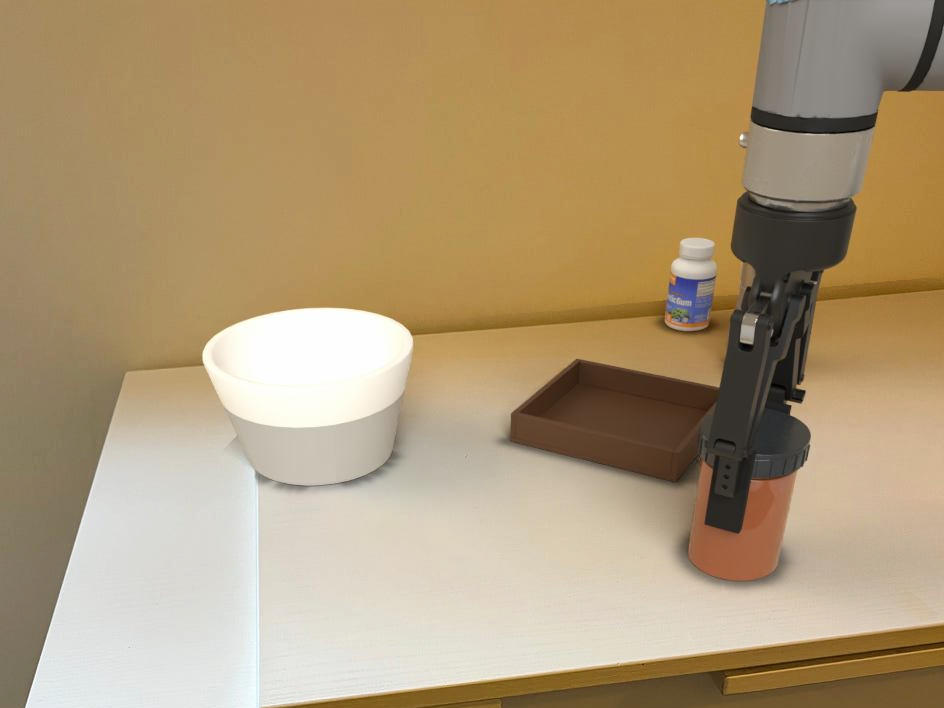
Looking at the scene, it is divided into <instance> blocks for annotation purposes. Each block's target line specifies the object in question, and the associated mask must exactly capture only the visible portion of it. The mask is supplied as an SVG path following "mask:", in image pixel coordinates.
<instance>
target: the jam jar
mask: <svg viewBox="0 0 944 708" xmlns="http://www.w3.org/2000/svg"><path fill="white" fill-rule="evenodd" d="M700 458H701V457H700ZM798 471H799V469H798V470H797V471H795V472H793V473H790V474H788V475H784V476H779V477H772V478H751V483H750V488H749V494H748V499H747V504H746V510H745V515H744V520H743V526H742V530H741V531H740V533H739V534H737V533H734V532H730V531H726V530H723V529H719V528H715V527H712V526H708V525H704V522H705V516H706V510H707V503H708V497H709V491H710V485H711V478H712V472H713V467H712V466H710V465H709V464H707V463H706V462H705V461H704V460H703V459H702V458H701V459H700V464H699V473H698V479H697V485H696V486H697V487H696V491H695V492H696V493H695V500H694V508H693V514H692V521H691V527H690V534H689V541H688V549H687V556H688V558H689V560H690V562H691V563H692V564H693V565H694V566H695V568H697V569H698V570H700V571H702V573H705V574H707V575H709V576H711V577H715V578H717V579H721V580H726V581H734V582H746V581H747V582H748V581H754V580H760V579H762V578H765V577H767V576H768V575H770V574H772V573H773V572H774V571H775V570H776V568H777V567H778V564H779V559H780V555H781V550H782V545H783V540H784V536H785V531H786V526H787V522H788V518H789V513H790V507H791V504H792V503H791V502H792V498H793V494H794V489H795V484H796V481H797V480H796V479H797V476H798V475H797V474H798Z"/></svg>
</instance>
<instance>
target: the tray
mask: <svg viewBox="0 0 944 708" xmlns="http://www.w3.org/2000/svg"><path fill="white" fill-rule="evenodd" d="M719 387H720V386H715V385H710V384H705V383H700V382H694V381H689V380H686V379H685V380H684V379H680V378H676V377H670V376H666V375H660V374H654V373H651V372H647V371H641V370H634V369H630V368H626V367H620V366H615V365H611V364H605V363H600V362H597V361H590V360H586V359H581V358H576V359H574V360H573V361H572V362H571V363H569V364H568V365H567V366H566V367H564V368H563V369H562V370H561V371H560V372H558V374H556V375H555V376H554V377H552V378H551V379H550V380H549V381H548V382H547V383H545V384H544V385H543V386H542V387H541V388H539V389H538V390H537V391H535V393H534V394H532V395H531V396H530V397H528V399H526V400H525V401H524V402H522V403H521V405H519V406H518V407H517V408H515V410H513V411H512V412H511V413H510V431H509V432H510V433H509V434H510V438H509V439H510V440H509V441H510V442H512V443H514V444H515V443H516V444H520V445H524V446H526V447H527V446H528V447H530V448H531V447H533V448H536V449H540V450H545V451H547V452H552V453H556V454H560V455H564V456H568V457H572V458H577V459H580V460H584V461H589V462H592V463H598V464H601V465H605V466H609V467H614V468H617V469H621V470H625V471H629V472H633V473H636V474H641V475H645V476H650V477H654V478H658V479H662V480H667V481H670V482H674V483H676V482H677V481H678V480H679V479H680V477H681V476H682V475H683V474H684V473H685V471H686V470H687V469H688V468H689V466H690V465H691V464H692V462H693V461H694V460H695V459H696V458H697V456H699V455H698V454H699V453H698V450H697V449H696V446H697V439H698V433H699V427H700V424H701V422H702V420H703V419H704V418H705V417H706V416H707V415H709V414H710V413H712V412H714V411H715V406H716V401H717V397H718V392H719Z"/></svg>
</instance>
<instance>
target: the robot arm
mask: <svg viewBox="0 0 944 708" xmlns="http://www.w3.org/2000/svg"><path fill="white" fill-rule="evenodd" d="M765 1H766V2H765V8H764V15H763V23H762V29H761V36H760V44H759V52H758V59H757V64H756V65H757V66H756V72H755V73H756V74H755V81H754V88H753V96H752V103H751V109H750V115H749V116H750V117H749V118H750V119H749V124H748V131H742V132H741V134H740V135H739V138H738V145H739V146H740V148H743V149H746V150H745V156H744V158H743V163H742V171H741V177H740V185H741V186H742V187H743V188H744V189H745V192H743V193H742V194H741V196H740V197H738V198H737V200H736V204H735V205H736V208H735V212H734V219H733V227H732V232H731V238H730V239H731V240H730V250H731V253H732V255H733V256H734V257H735V258H736V259H737V260H739V261H741V263H742V262H746V263H748V264H749V265H751V266H752V267H753V268H754V270H755V277H754V279H753V283H752V286H747V288H746V290H745V293H744V296H743V300H742V304H741V310H738V309H736V308H735V309H734V310H733V312H732V314H731V316H730V318H729V329H730V330H729V329H728V332H729V340H728V348H727V353H726V352H725V358H724V363H723V368H722V373H721V378H720V381H719V386H718V387H719V392H718V397H717V401H716V406H715V411H714V416H713V421H712V426H711V431H710V436H709V440H705V442H704V448H705V449H707V453H710V454H714V455H715V460H714V466H713V472H712V478H711V485H710V491H709V497H708V503H707V510H706V516H705V522H704V525H708V526H712V527H715V528H719V529H723V530H726V531H730V532H734V533H737V534H739V533H740V531H741V530H742V526H743V520H744V515H745V510H746V504H747V499H748V494H749V488H750V483H751V478H752V472H753V467H754V462H755V456H756V451H753V445H754V441H755V438H756V434H757V431H758V427H759V424H760V420H761V417H762V413H763V410H764V408H767V409H772V410H777V411H780V412H783V413H786V414H789V415H791V413H792V407H793V405H792V404H788V402H790V403H796V404H803V403H804V400H805V397H806V393H807V390H805V389H801V388H798V387H797V386H801V385H802V383H803V382H804V381H805V377H806V375H805V373H806V372H805V371H806V365H807V358H808V353H809V348H810V341H811V336H812V330H813V323H814V318H815V311H816V306H817V300H818V294H819V290H820V289H819V288H820V285H821V281H822V276H823V274H824V272H825V270H828V269H832V268H834V267H836V266H838V265H840V264H841V263H842V262H843V261H844V260H845V258H846V257H847V255H848V250H849V245H850V241H851V236H852V233H853V232H852V231H853V226H854V223H855V218H856V213H857V210H858V207H857V205H856V204H855V201H854V200H853V198H854V197H855V196H857V195H858V194H860V193H861V192H862V190H863V187H864V182H865V177H866V173H867V169H868V163H869V159H870V155H871V150H872V144H873V140H874V136H875V130H876V124H877V119H878V114H879V108H880V104H881V102H882V99H883V95H884V92H898V93H911V92H913V91H915V92H944V0H765Z"/></svg>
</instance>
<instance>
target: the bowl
mask: <svg viewBox="0 0 944 708" xmlns="http://www.w3.org/2000/svg"><path fill="white" fill-rule="evenodd" d="M414 343H415V341H414V338H413V336H412V334H411V331H410V330H409V329H408V328H407V327H405V326H404V325H403V324H402V323H400V322H398V321H397V320H395V319H393V318H392V317H388V316H386V315H382V314H380V313H377V312H376V313H375V312H371V311H366V310H361V309H352V308H342V307H307V308H306V307H305V308H295V309H287V310H282V311H275V312H270V313H265V314H262V315H258V316H254V317H251V318H247V319H245V320H242V321H239V322H236V323H235V324H232V325H230V326H228V327H226V328H224V329H222V330H221V331H219V332H218V333H216V334H215V335H213V336H212V337H211V339H210V340H208V341H207V343H206V344H205V347H204V349H203V350H202V364H203V366H204V368H205V370H206V372H207V375H208V376H209V377H208V378H210V381H211V383H212V385H213V387H214V389H215V392H216V394H217V396H218V398H219V400H220V402H221V404H222V406H223V408H224V411H225V413H226V414H227V417H228V419H229V421H230V423H231V426H232V428H233V429H234V432H235V434H236V436H237V438H238V440H239V443H240V444H241V446H242V449H243V451H244V453H245V455H246V458H247V460H248V462H249V464H250V465H251V467H252V468H253V469H254V471H256V472H257V473H258V474H259V475H261V476H263V477H265V478H267V479H269V480H273V481H275V482H278V483H283V484H289V485H294V486H297V485H298V486H327V485H334V484H335V485H336V484H339V483H344V482H349V481H352V480H355V479H359V478H362V477H364V476H366V475H368V474H371V473H372V472H375V471H376V470H377V469H379V468H380V467H382V466H383V465H384V464H385V463H386V462H387V461H388V460H389V459H390V457H391V455H392V453H393V450H394V446H395V440H396V435H397V431H398V425H399V422H400V421H399V420H400V416H401V411H402V405H403V400H404V396H405V392H406V388H407V383H408V378H409V373H410V368H411V363H412V357H413V353H414V347H415V345H414Z"/></svg>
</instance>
